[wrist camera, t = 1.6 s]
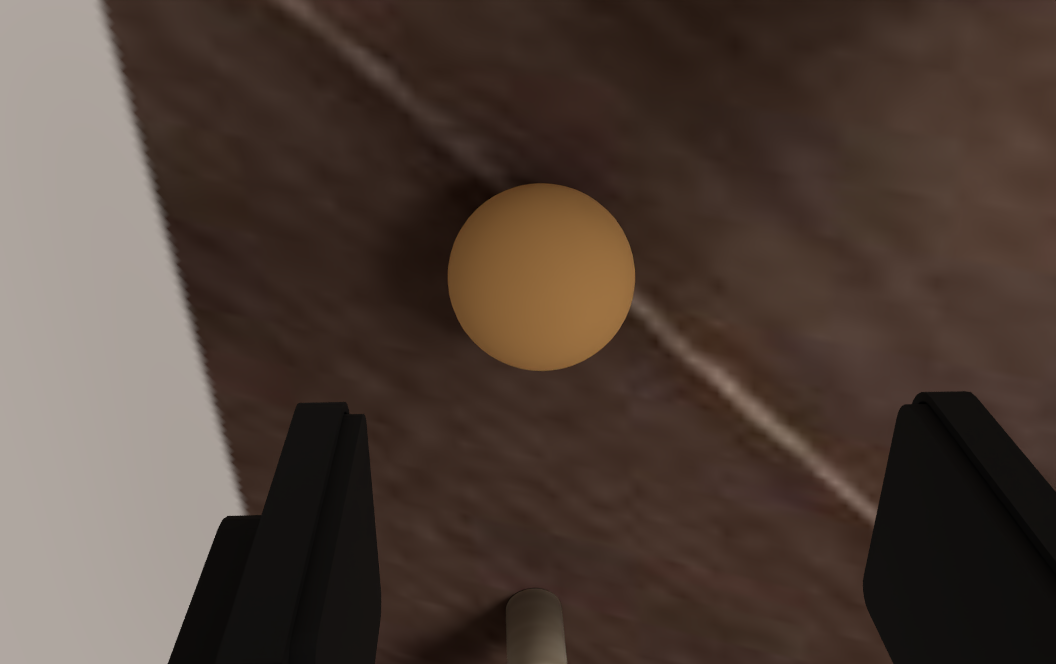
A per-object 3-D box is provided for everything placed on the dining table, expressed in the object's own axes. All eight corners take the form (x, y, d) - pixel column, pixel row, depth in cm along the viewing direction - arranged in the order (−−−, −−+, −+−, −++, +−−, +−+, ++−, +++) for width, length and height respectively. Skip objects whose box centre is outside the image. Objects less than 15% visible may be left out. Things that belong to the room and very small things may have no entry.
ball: (447, 158, 33) (440, 225, 28) (627, 157, 33) (654, 223, 28) (453, 319, 36) (447, 408, 30) (618, 317, 36) (641, 405, 31)
